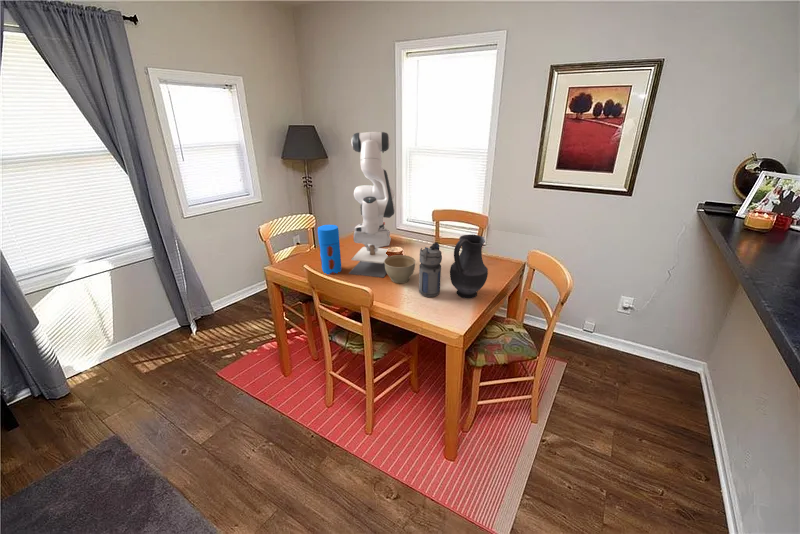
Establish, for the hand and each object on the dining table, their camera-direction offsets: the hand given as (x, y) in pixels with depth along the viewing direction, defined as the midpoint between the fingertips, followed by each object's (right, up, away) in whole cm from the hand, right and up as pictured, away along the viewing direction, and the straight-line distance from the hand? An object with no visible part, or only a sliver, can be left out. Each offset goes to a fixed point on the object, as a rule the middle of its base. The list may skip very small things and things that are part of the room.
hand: (372, 251), depth 192 cm
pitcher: (+46, -23, -27) cm, 58 cm away
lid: (0, -2, +1) cm, 3 cm away
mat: (0, -9, +3) cm, 10 cm away
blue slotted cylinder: (-23, -11, +1) cm, 25 cm away
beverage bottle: (+30, -21, -24) cm, 44 cm away
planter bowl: (+15, -16, -11) cm, 25 cm away
